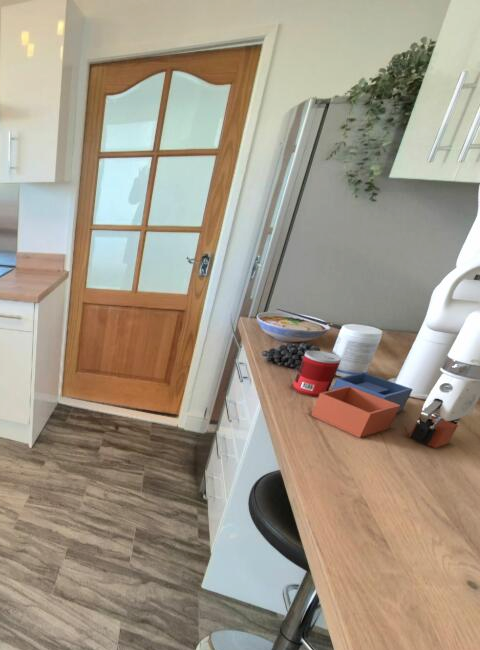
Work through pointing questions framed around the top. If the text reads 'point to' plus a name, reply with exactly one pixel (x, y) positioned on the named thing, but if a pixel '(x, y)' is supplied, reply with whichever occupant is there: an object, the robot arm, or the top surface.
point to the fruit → (289, 354)
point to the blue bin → (395, 393)
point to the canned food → (316, 372)
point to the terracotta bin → (355, 411)
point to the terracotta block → (440, 433)
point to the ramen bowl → (293, 326)
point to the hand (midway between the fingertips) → (429, 436)
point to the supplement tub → (356, 348)
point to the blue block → (374, 388)
